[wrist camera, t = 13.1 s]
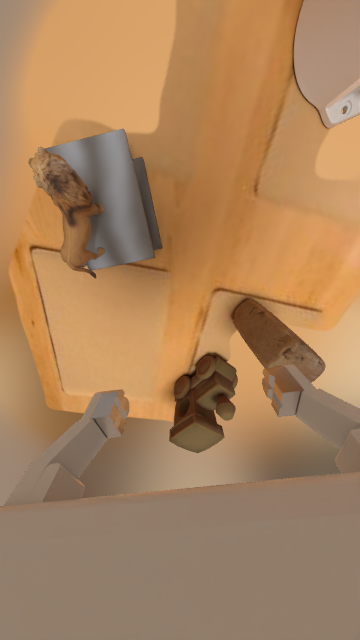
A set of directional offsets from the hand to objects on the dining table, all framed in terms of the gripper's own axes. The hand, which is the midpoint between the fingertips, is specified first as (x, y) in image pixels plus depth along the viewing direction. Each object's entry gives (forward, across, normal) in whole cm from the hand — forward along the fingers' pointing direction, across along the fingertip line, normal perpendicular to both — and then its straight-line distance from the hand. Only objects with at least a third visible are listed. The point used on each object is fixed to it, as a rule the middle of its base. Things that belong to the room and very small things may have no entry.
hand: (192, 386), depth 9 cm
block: (+31, -16, +14) cm, 38 cm away
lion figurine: (+24, +13, -11) cm, 29 cm away
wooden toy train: (+31, -1, +33) cm, 46 cm away
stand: (+31, +10, -13) cm, 35 cm away
